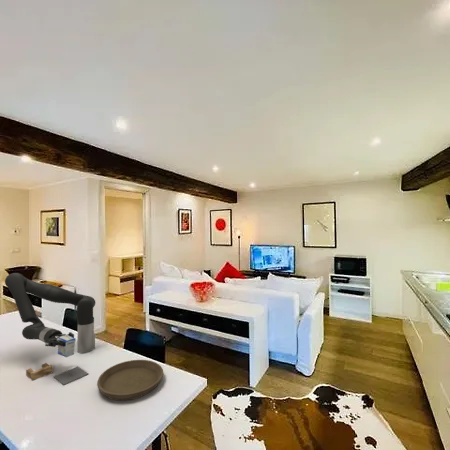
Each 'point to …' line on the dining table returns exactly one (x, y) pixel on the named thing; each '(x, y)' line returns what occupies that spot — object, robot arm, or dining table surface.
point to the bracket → (39, 371)
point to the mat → (70, 375)
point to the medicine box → (67, 346)
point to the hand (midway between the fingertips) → (69, 342)
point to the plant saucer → (130, 379)
